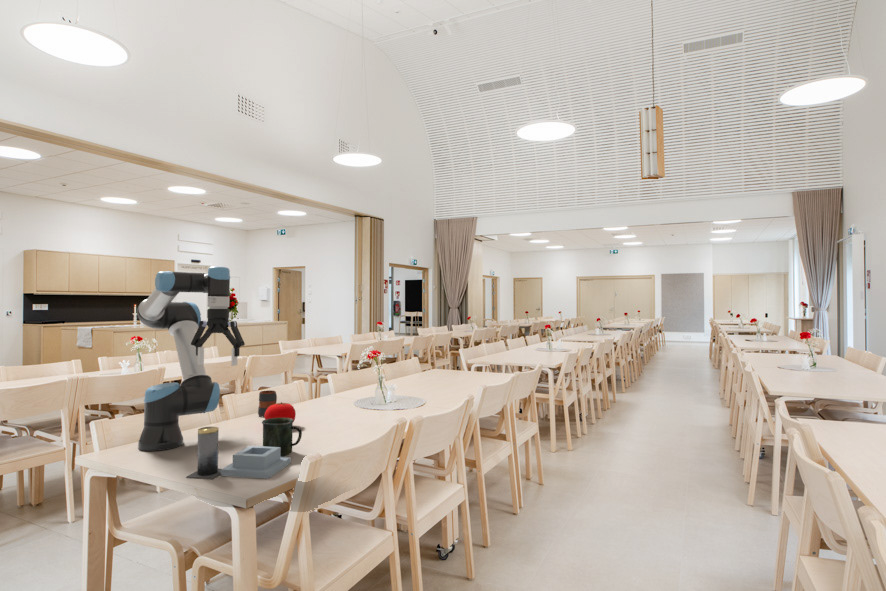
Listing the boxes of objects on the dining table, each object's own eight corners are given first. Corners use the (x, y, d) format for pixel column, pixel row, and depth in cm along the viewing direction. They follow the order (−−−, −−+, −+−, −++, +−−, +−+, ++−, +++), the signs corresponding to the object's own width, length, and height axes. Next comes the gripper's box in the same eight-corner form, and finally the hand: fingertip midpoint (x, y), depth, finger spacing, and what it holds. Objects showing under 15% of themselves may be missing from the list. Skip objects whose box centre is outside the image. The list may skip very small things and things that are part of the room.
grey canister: (193, 475, 161) (193, 430, 162) (204, 469, 167) (205, 426, 168) (210, 476, 161) (211, 431, 161) (221, 470, 166) (222, 426, 167)
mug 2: (283, 412, 257) (283, 389, 257) (270, 417, 245) (270, 393, 246) (268, 411, 259) (268, 388, 259) (254, 416, 247) (254, 392, 248)
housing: (220, 475, 162) (221, 456, 162) (247, 460, 178) (247, 443, 178) (268, 478, 160) (268, 459, 160) (290, 463, 176) (290, 445, 176)
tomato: (288, 431, 220) (288, 405, 220) (259, 429, 222) (260, 404, 222) (300, 424, 232) (300, 400, 232) (273, 423, 234) (273, 399, 234)
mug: (269, 448, 193) (269, 417, 193) (306, 450, 191) (307, 418, 192) (255, 457, 182) (256, 423, 182) (295, 458, 181) (295, 424, 181)
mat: (186, 477, 160) (186, 476, 160) (203, 468, 169) (203, 467, 169) (212, 479, 159) (212, 478, 159) (228, 470, 168) (228, 469, 168)
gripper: (181, 307, 190) (180, 365, 189) (244, 308, 186) (243, 366, 186) (194, 307, 197) (193, 362, 197) (254, 308, 193) (253, 364, 193)
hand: (217, 365), depth 191 cm, fingers open, 13 cm apart
